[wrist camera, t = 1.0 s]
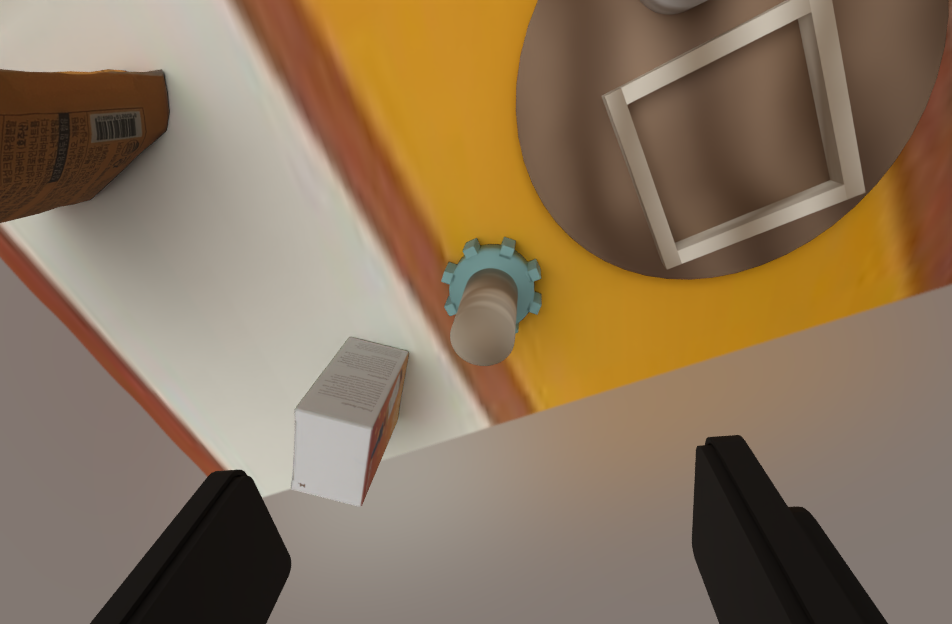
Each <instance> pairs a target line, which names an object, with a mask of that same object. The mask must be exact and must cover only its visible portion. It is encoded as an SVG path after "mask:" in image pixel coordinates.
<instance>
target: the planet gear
mask: <svg viewBox="0 0 952 624" xmlns="http://www.w3.org/2000/svg"><path fill="white" fill-rule="evenodd" d="M514 249H515V240H512V239H509V238H506V237H504V239H503V242H502V244H501V245H498V244H487V245H482V246H480V244H479V242H478V240H477V238H475V239H473V240H471V241H469V242H467V243H466V244H465V247H464V249H463V253H464V256H463V257H462V258H461V260H460V261H459V263H458V264H457V265H456V264H453V263H451V262H449V263H448V265H447V267H446V269H445V271H444V274H443V278H442V281H441V282H444V283H447V284H450V288H449V292H450V296H448V299H447V301H446V304H445V306H444V307H445V309H446V311H447V313H448V314H449V316H452V315H454V314H456V316H455V319H454V322H453V325H452V328H451V333H450V339H451V344H452V346H453V348H454V350H455V352H456V353H457V354H458V355H459V356H460V357H461V358H462V359H464V360H465V361H467V362H469V363H471V364H474V365H479V366H489V365H494V364H497V363H499V362H501V361H503V360H504V359H505V358H507V357H508V355H509V354H510V353H511V351H512V349H513V346H514V342H515V333H518V328H519V322H520V321H521V320H522V319H523V318H524V317H525V316H526V315H527V313H528V312H531V313H534V314H538V312H539V309H540V307H541V305H542V303H541V294H540V293H537V292H534V281H536V280H539V279H541V268H540V266H539V264H538V262H537V260H536V259H534V260H532V261H530V262H527V261H526V259H525V258H524V257H523V256H522V255H521V254H520V253H518V252H517V251H515V250H514Z"/></svg>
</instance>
